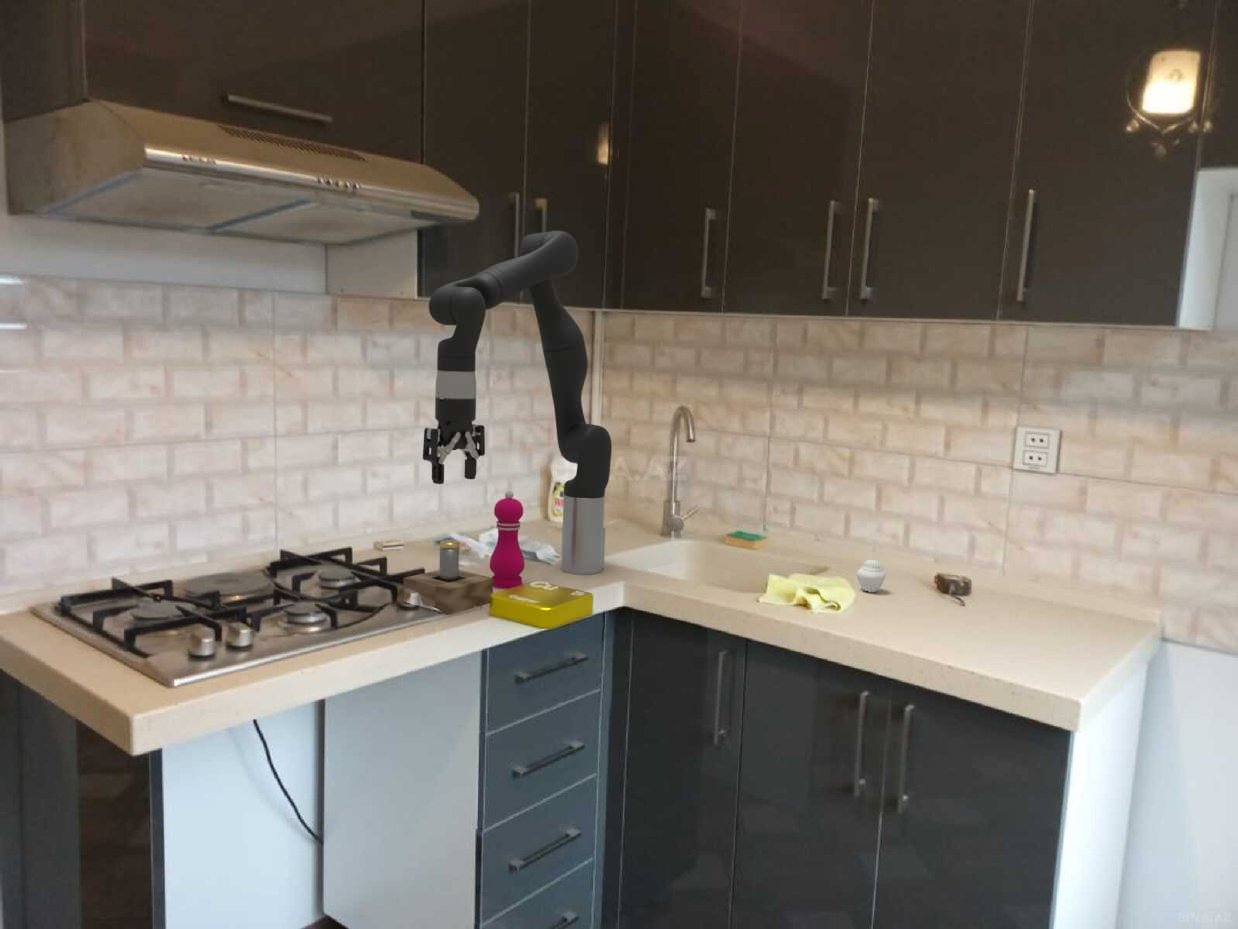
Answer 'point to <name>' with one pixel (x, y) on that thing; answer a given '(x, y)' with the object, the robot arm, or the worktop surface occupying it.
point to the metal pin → (449, 561)
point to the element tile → (541, 605)
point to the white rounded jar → (871, 576)
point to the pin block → (451, 590)
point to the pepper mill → (507, 544)
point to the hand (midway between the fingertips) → (454, 481)
